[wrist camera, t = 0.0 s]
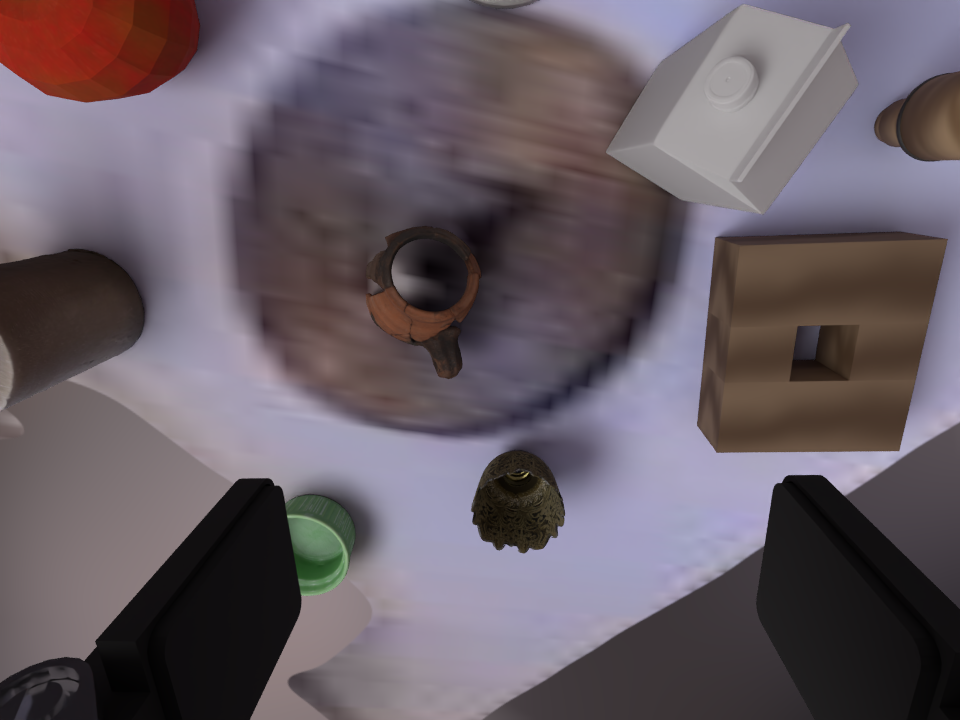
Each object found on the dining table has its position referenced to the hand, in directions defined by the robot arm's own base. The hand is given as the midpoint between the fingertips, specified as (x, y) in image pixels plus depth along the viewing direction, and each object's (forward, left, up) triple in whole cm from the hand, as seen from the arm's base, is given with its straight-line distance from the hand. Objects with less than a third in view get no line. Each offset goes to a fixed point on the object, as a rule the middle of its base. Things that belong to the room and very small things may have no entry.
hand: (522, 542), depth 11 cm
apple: (-18, -26, -37) cm, 49 cm away
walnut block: (+7, +23, -37) cm, 44 cm away
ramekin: (+26, -20, -37) cm, 50 cm away
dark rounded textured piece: (+19, 0, -37) cm, 42 cm away
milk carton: (-9, +12, -37) cm, 40 cm away
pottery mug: (+3, -7, -37) cm, 38 cm away
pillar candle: (+3, -37, -37) cm, 52 cm away
